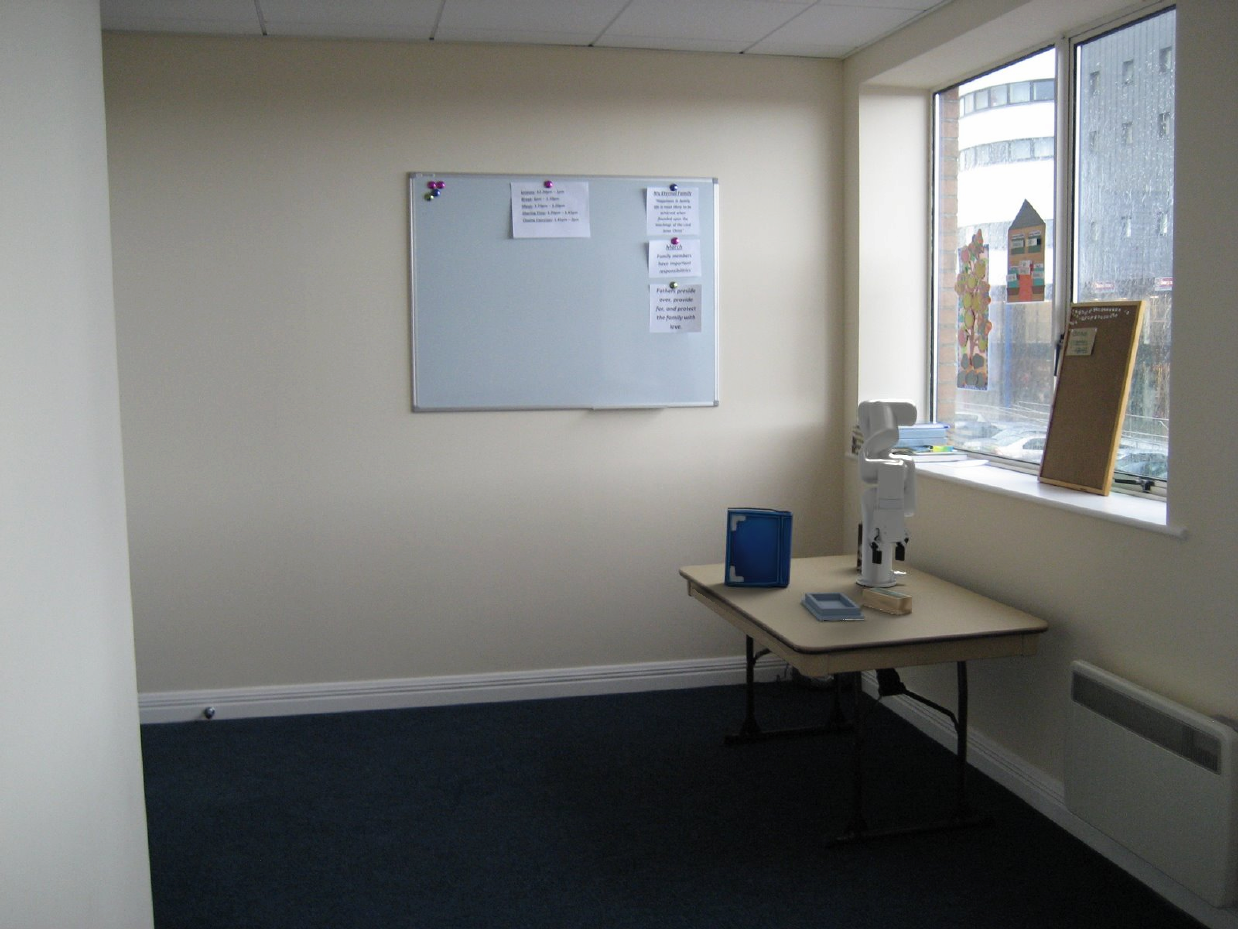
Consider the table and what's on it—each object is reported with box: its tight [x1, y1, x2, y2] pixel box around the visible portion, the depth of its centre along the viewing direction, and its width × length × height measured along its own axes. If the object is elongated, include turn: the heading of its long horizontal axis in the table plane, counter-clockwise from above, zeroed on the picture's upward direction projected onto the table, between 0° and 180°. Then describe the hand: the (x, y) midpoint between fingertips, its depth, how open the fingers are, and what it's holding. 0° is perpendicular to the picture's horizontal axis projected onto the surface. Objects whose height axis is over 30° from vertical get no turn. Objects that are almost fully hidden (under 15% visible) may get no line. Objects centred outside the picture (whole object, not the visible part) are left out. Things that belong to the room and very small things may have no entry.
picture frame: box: [862, 587, 913, 616], centre depth 323 cm, size 6×14×5 cm, turn 31°
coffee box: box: [856, 521, 863, 571], centre depth 378 cm, size 9×6×16 cm
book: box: [723, 506, 794, 588], centre depth 353 cm, size 22×7×25 cm, turn 84°
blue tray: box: [800, 592, 866, 622], centre depth 320 cm, size 13×22×3 cm, turn 4°
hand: (888, 562), depth 322 cm, fingers open, 9 cm apart
